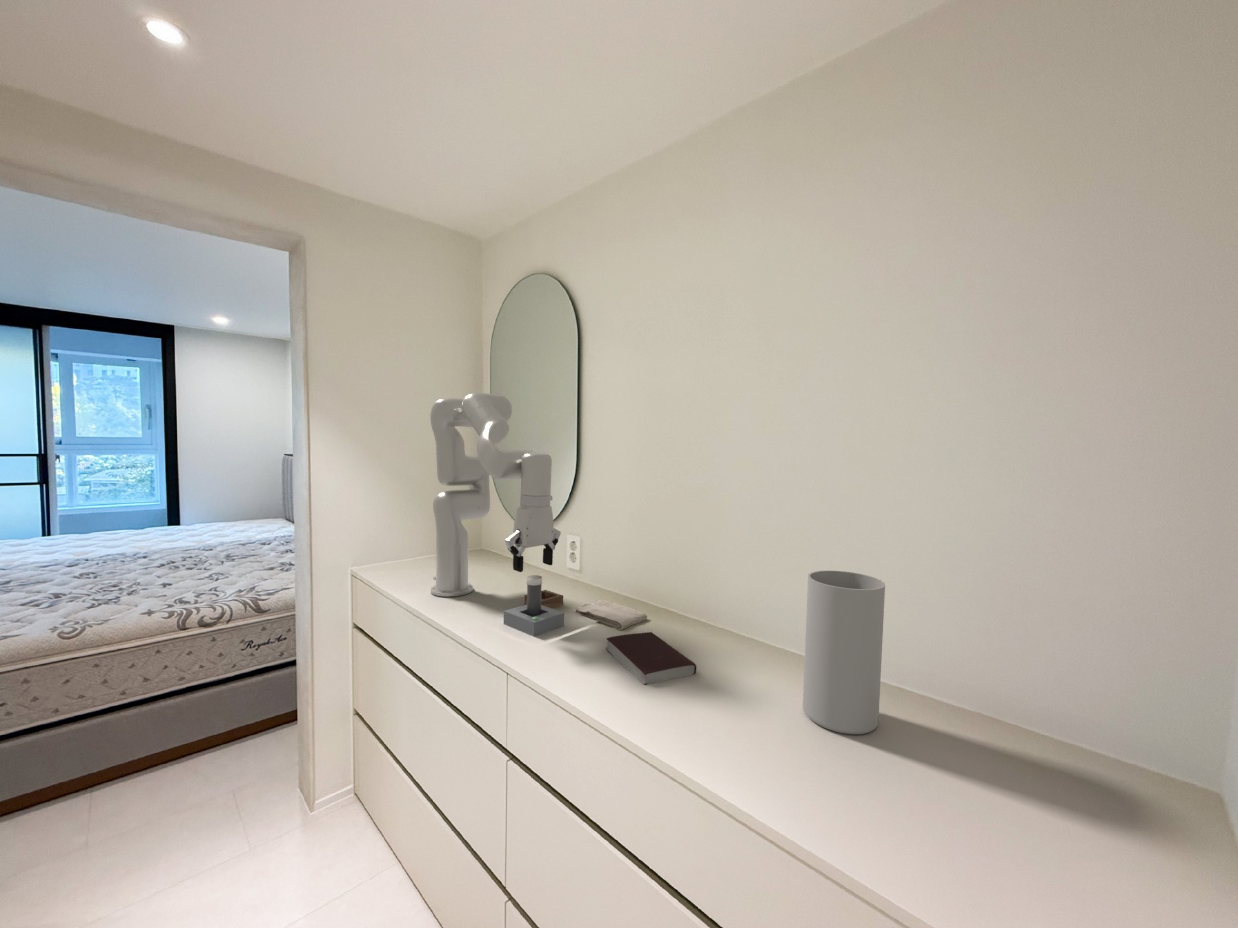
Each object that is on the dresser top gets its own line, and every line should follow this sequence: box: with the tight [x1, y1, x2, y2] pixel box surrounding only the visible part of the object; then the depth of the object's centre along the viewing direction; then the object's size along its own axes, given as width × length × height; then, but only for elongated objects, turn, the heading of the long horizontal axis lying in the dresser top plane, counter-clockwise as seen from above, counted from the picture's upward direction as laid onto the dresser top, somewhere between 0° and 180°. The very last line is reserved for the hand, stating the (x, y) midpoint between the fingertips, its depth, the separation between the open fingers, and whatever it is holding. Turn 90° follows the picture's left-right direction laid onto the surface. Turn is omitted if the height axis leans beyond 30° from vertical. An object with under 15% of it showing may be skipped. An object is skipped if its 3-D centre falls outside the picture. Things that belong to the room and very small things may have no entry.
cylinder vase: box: [802, 570, 886, 735], centre depth 93 cm, size 12×12×25 cm
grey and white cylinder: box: [526, 574, 543, 617], centre depth 133 cm, size 4×4×12 cm
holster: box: [524, 589, 564, 609], centre depth 149 cm, size 8×8×4 cm
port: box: [503, 604, 565, 637], centre depth 133 cm, size 12×10×4 cm
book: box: [605, 631, 697, 686], centre depth 115 cm, size 12×19×3 cm, turn 25°
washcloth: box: [574, 599, 648, 631], centre depth 142 cm, size 12×18×3 cm, turn 51°
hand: (533, 567), depth 133 cm, fingers open, 9 cm apart
